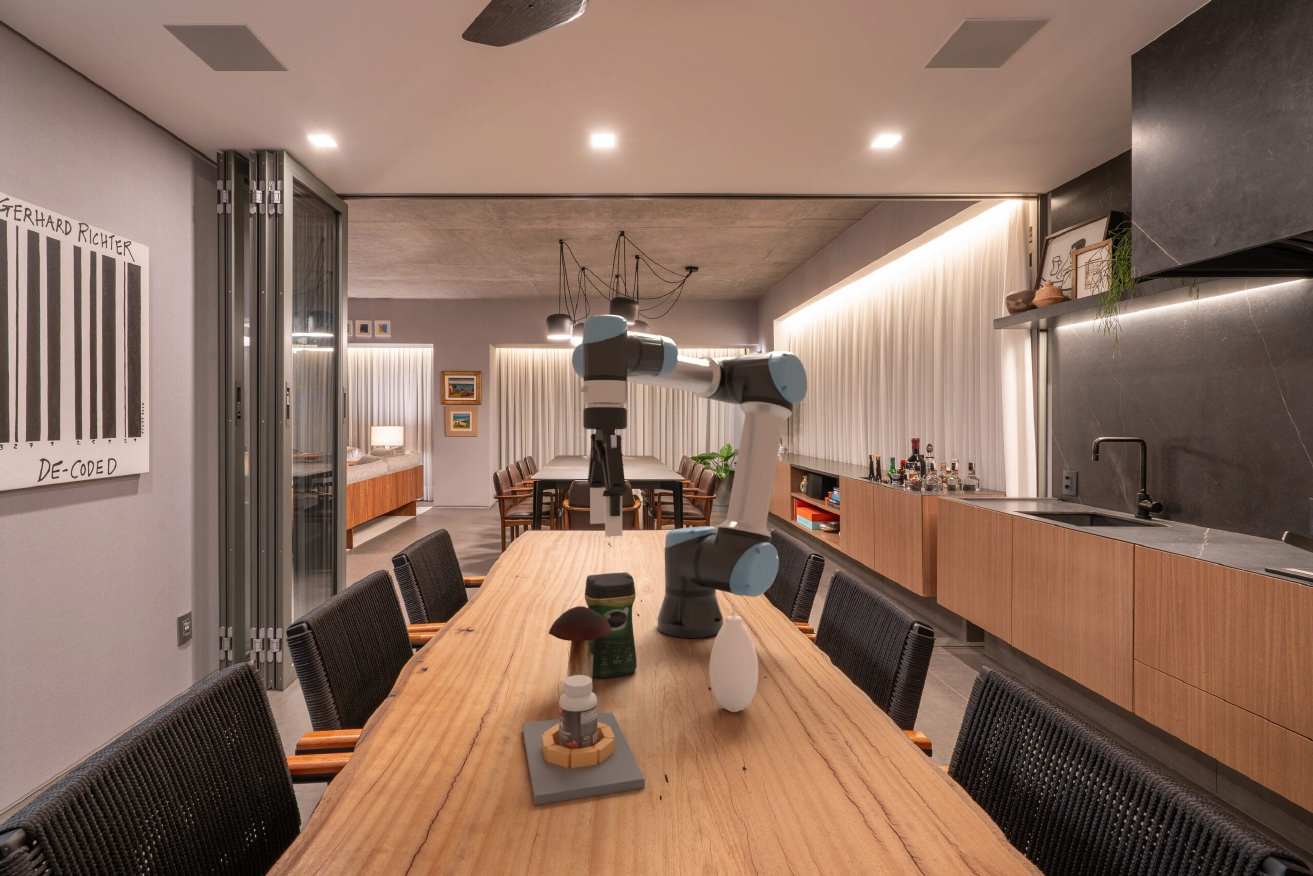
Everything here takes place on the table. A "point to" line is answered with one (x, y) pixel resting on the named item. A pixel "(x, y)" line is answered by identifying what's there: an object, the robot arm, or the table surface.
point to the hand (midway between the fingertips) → (605, 529)
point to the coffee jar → (612, 623)
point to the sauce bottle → (733, 665)
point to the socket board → (579, 762)
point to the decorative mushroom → (580, 636)
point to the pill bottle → (578, 713)
